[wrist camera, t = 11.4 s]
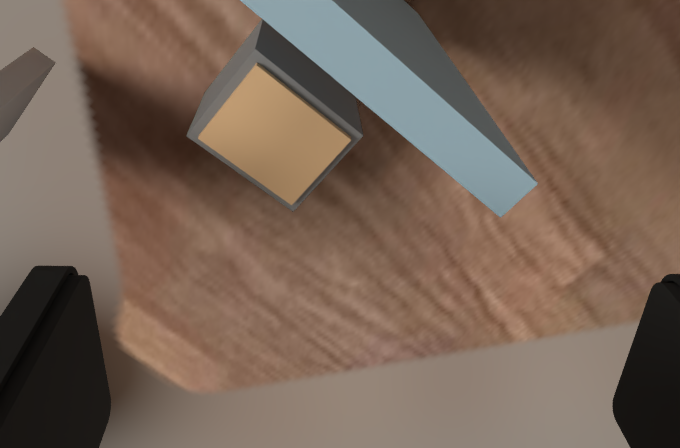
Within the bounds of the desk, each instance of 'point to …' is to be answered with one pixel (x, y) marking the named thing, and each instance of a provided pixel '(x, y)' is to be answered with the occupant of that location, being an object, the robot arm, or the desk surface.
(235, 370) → the desk surface
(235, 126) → the doorstop
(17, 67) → the wall frame
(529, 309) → the desk surface
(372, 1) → the door
